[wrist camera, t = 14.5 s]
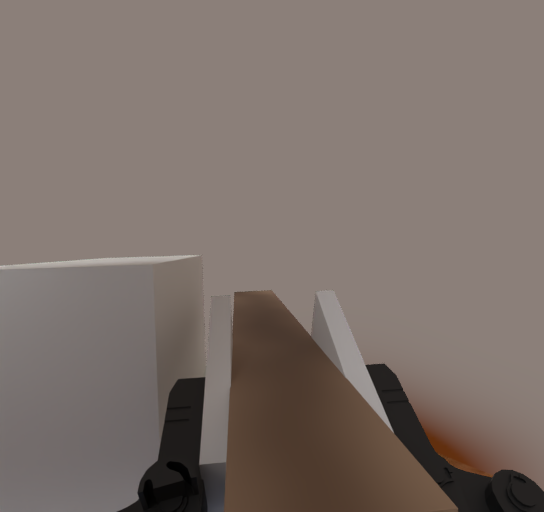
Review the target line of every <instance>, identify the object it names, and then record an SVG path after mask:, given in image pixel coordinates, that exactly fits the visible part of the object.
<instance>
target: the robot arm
mask: <svg viewBox="0 0 544 512" xmlns="http://www.w3.org/2000/svg"><path fill="white" fill-rule="evenodd" d="M311 337H312V339H313V340H314V341H315V342H316V343H317V345H318V346H319V347H320V348H321V349H322V350H323V352H324V353H325V354H326V355H327V356H328V358H329V359H330V360H331V361H332V362H333V364H334V365H335V366H336V367H337V368H338V369H339V371H340V372H341V373H342V374H343V375H344V377H345V378H347V379H348V380H349V381H350V383H351V384H352V385H353V386H354V387H355V388H356V390H357V391H358V392H359V393H360V394H361V395H362V397H363V398H364V399H365V400H366V401H367V402H368V404H369V405H370V406H371V407H372V408H373V409H374V411H375V412H376V413H377V414H378V415H379V416H380V418H381V419H382V420H383V421H384V422H385V424H386V425H387V426H388V427H389V428H390V429H391V431H392V432H393V433H394V434H395V435H396V436H397V438H398V439H399V440H400V441H401V442H402V443H403V445H404V446H405V447H406V448H407V449H408V450H409V452H410V453H411V454H412V455H413V456H414V457H415V459H416V460H417V461H418V462H419V463H420V464H421V466H422V467H423V468H424V469H425V470H426V471H427V473H428V474H429V475H430V476H431V477H432V478H433V480H434V481H435V482H436V483H437V484H438V485H439V487H440V488H441V489H442V490H443V491H444V492H445V494H446V495H447V496H448V497H449V498H450V499H451V501H452V502H453V503H454V504H455V505H456V507H457V508H458V512H544V492H543V491H542V489H541V488H540V487H539V486H538V485H537V484H536V483H535V482H534V481H532V480H531V479H529V478H528V477H526V476H525V475H523V474H521V473H518V472H516V471H513V470H501V471H499V472H497V473H495V474H494V476H493V477H492V478H491V477H487V476H482V475H478V474H474V473H470V472H466V471H463V470H460V469H457V468H455V467H453V466H452V465H450V464H449V463H448V462H447V461H446V460H445V459H444V458H443V457H441V456H439V455H438V454H437V453H436V452H435V450H434V449H433V447H432V445H431V444H430V442H429V440H428V438H427V436H426V434H425V432H424V430H423V428H422V426H421V424H420V422H419V420H418V418H417V416H416V414H415V412H414V410H413V408H412V406H411V404H410V403H409V402H408V398H407V396H406V394H405V392H403V388H402V386H401V384H400V382H399V380H398V378H397V376H396V375H395V374H394V373H393V372H392V371H391V370H390V369H389V368H388V367H387V366H386V365H385V364H373V365H365V363H364V361H363V359H362V356H361V354H360V351H359V349H358V347H357V344H356V342H355V340H354V337H353V335H352V333H351V330H350V328H349V325H348V323H347V321H346V319H345V316H344V314H343V311H342V309H341V307H340V304H339V302H338V299H337V297H336V295H335V293H334V291H316V294H315V304H314V312H313V322H312V332H311ZM232 350H233V335H232V317H231V297H230V295H228V296H211V308H210V322H209V336H208V350H207V364H206V377H199V378H185V379H178V380H177V381H176V383H175V384H174V386H173V388H172V389H171V391H170V392H169V397H168V403H167V411H166V415H165V420H164V421H165V423H164V426H163V432H162V438H161V443H160V449H159V455H158V461H156V462H155V463H154V464H153V465H152V466H151V467H149V468H148V469H147V470H146V472H145V474H144V475H143V477H142V478H141V480H140V483H139V488H138V492H137V494H138V497H139V499H138V500H137V501H136V502H135V503H133V504H131V505H130V506H128V507H126V508H124V509H122V510H120V511H117V512H224V498H225V478H226V457H227V437H228V416H229V396H230V387H231V371H232Z"/></svg>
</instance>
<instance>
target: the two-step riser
mask: <svg viewBox="0 0 544 512" xmlns="http://www.w3.org/2000/svg"><path fill="white" fill-rule="evenodd" d="M205 353H206V352H205V323H204V295H203V267H202V255H190V256H159V257H127V258H102V259H88V260H74V261H60V262H46V263H33V264H19V265H6V266H0V512H117V511H120V510H122V509H124V508H126V507H128V506H130V505H131V504H133V503H135V502H136V501H137V500H138V499H139V497H138V494H137V492H138V488H139V483H140V480H141V478H142V477H143V475H144V474H145V472H146V470H147V469H148V468H149V467H151V466H152V465H153V464H154V463H155V462H156V461H158V455H159V449H160V443H161V438H162V432H163V426H164V423H165V421H164V420H165V415H166V411H167V403H168V397H169V392H170V391H171V389H172V388H173V386H174V384H175V383H176V381H177V380H178V379H185V378H199V377H206V354H205Z"/></svg>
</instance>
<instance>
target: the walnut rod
mask: <svg viewBox="0 0 544 512" xmlns="http://www.w3.org/2000/svg"><path fill="white" fill-rule="evenodd" d="M234 295H235V296H234V314H233V334H232V335H233V350H232V371H231V387H230V396H229V416H228V437H227V457H226V478H225V498H224V512H458V508H457V507H456V505H455V504H454V503H453V502H452V501H451V499H450V498H449V497H448V496H447V495H446V494H445V492H444V491H443V490H442V489H441V488H440V487H439V485H438V484H437V483H436V482H435V481H434V480H433V478H432V477H431V476H430V475H429V474H428V473H427V471H426V470H425V469H424V468H423V467H422V466H421V464H420V463H419V462H418V461H417V460H416V459H415V457H414V456H413V455H412V454H411V453H410V452H409V450H408V449H407V448H406V447H405V446H404V445H403V443H402V442H401V441H400V440H399V439H398V438H397V436H396V435H395V434H394V433H393V432H392V431H391V429H390V428H389V427H388V426H387V425H386V424H385V422H384V421H383V420H382V419H381V418H380V416H379V415H378V414H377V413H376V412H375V411H374V409H373V408H372V407H371V406H370V405H369V404H368V402H367V401H366V400H365V399H364V398H363V397H362V395H361V394H360V393H359V392H358V391H357V390H356V388H355V387H354V386H353V385H352V384H351V383H350V381H349V380H348V379H347V378H345V377H344V375H343V374H342V373H341V372H340V371H339V369H338V368H337V367H336V366H335V365H334V364H333V362H332V361H331V360H330V359H329V358H328V356H327V355H326V354H325V353H324V352H323V350H322V349H321V348H320V347H319V346H318V345H317V343H316V342H315V341H314V340H313V339H312V337H311V336H310V335H309V334H308V332H307V331H306V330H305V329H304V328H303V326H302V325H301V324H300V323H299V322H298V321H297V319H296V318H295V317H294V316H293V315H292V314H291V313H290V311H289V310H288V309H287V308H286V307H285V305H284V304H283V303H282V302H281V301H280V300H279V298H278V297H277V296H276V295H275V294H274V293H273V291H271V290H269V291H248V292H235V294H234Z"/></svg>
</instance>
